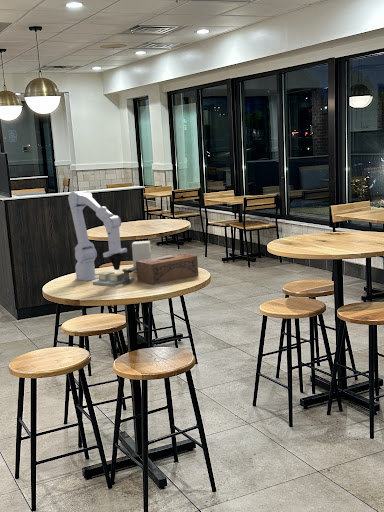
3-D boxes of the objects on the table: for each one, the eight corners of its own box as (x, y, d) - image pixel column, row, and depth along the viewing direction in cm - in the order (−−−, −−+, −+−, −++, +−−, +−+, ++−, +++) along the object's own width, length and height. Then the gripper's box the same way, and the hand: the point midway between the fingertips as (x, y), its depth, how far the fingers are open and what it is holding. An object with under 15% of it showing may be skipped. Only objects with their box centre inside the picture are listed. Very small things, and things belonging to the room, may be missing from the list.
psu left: (98, 280, 309) (98, 273, 308) (107, 277, 313) (107, 271, 313) (106, 281, 306) (105, 274, 305) (115, 278, 311) (114, 271, 310)
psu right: (109, 281, 304) (108, 274, 304) (118, 278, 309) (117, 272, 309) (117, 281, 301) (116, 275, 301) (125, 279, 306) (125, 272, 306)
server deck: (92, 284, 306) (91, 272, 305) (112, 278, 317) (111, 267, 316) (120, 287, 295) (119, 275, 294) (140, 280, 306) (139, 269, 305)
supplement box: (151, 271, 328) (148, 242, 325) (133, 272, 328) (131, 244, 326) (152, 268, 337) (150, 240, 334) (135, 269, 337) (133, 241, 335)
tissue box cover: (182, 272, 321) (180, 253, 319) (198, 276, 309) (197, 255, 307) (137, 281, 307) (135, 261, 305) (152, 285, 295) (151, 264, 293)
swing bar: (137, 266, 317) (137, 263, 316) (144, 266, 315) (144, 263, 315) (121, 274, 300) (120, 270, 300) (128, 274, 299) (127, 270, 299)
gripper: (109, 244, 294) (112, 273, 297) (130, 239, 306) (133, 267, 308) (98, 243, 298) (101, 272, 301) (119, 238, 310) (122, 266, 312)
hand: (116, 269), depth 305 cm, fingers closed
